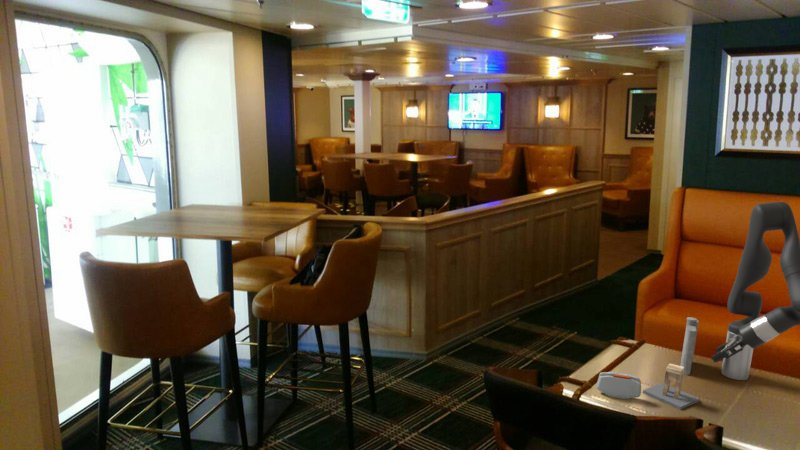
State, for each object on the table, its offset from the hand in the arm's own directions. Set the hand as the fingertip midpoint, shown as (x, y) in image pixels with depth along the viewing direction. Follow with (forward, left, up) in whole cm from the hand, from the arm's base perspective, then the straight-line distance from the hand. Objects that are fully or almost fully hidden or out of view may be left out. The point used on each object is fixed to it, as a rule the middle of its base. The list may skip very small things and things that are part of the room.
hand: (715, 355), depth 207 cm
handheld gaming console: (+20, -21, -19) cm, 34 cm away
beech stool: (+4, -11, -17) cm, 21 cm away
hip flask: (-26, -23, -19) cm, 39 cm away
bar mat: (+4, -11, -18) cm, 22 cm away
